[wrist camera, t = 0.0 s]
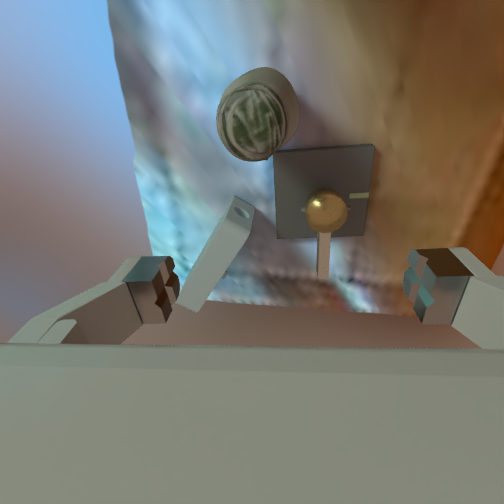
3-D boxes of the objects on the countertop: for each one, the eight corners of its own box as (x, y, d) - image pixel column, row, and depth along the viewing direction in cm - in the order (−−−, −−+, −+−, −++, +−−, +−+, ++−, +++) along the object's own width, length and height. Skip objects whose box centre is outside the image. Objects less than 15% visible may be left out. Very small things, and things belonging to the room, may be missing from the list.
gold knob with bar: (300, 188, 51) (301, 196, 48) (349, 186, 50) (354, 194, 47) (300, 268, 60) (301, 280, 57) (342, 268, 59) (345, 279, 56)
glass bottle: (304, 112, 50) (325, 144, 27) (256, 145, 54) (237, 200, 30) (275, 56, 46) (267, 36, 23) (225, 96, 50) (174, 115, 26)
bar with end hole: (211, 279, 72) (198, 317, 61) (191, 269, 71) (173, 305, 60) (259, 207, 61) (253, 237, 49) (235, 193, 59) (224, 221, 48)
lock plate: (273, 150, 54) (272, 158, 49) (372, 143, 52) (381, 151, 47) (277, 234, 63) (276, 248, 58) (361, 231, 61) (368, 245, 56)
